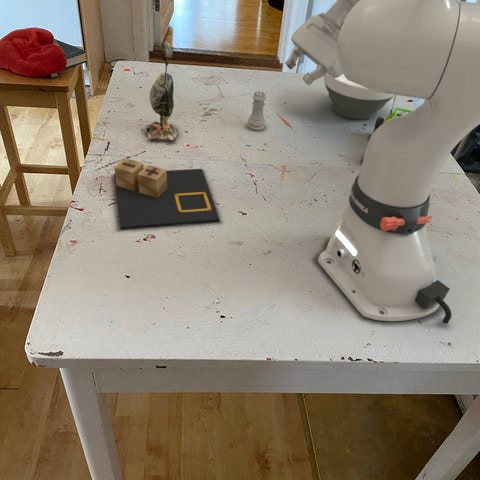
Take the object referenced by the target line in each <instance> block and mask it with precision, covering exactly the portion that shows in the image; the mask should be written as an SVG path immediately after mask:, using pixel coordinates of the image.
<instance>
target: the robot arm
mask: <svg viewBox="0 0 480 480" xmlns="http://www.w3.org/2000/svg"><path fill="white" fill-rule="evenodd" d="M290 40H291V43H293V45H294V47H293V48H292V50H291V52H290V55H289V57H288V58H287V59H286V60H285V62H284V64H285V66H286V67H287V68H288V69H289V70H293V69H294V68H295V67H296V65H297V63H296V62H297V61H298V59H299V58H301V57H302V56H303V55H304V56H306V57H307V58H308V59H309V60H310V61H312V62H313V63H314V64H315V65H316V66H315V68H316V69H314V70H312V71H311V72H306V73H305V75H303V77H302V81H303V82H304V83H305V84H306V85H307V86H311V84H313V83H314V82H315V81H316V80H319V79H320V78H324V75H325V74H326V73H328V74H329V75H330V76H332V77H333V78H337V77H339V76H341V75H342V74H344V76H345V77H346V79H347V80H349V81H351V82H354V83H356V84H358V85H361V86H363V87H366V88H369V89H371V90H374V91H377V92H382V93H388V94H395V95H396V96H401V97H409V98H414V99H419V100H421V99H422V100H424V101H423V102H422V103H421V104H420V105H419V106H418V107H416V108H415V109H413V111H412V112H410V113H408V112H406V114H405V115H402V116H398V117H395V118H394V117H392V119H390V120H388V121H386V122H385V123H383V124H382V125H381V126H379V127H378V128H377V129H376V130H375V131H374V130H373V131H374V132H373V131H372V134H371V135H370V137H369V140H368V143H367V145H366V150H365V154H364V155H363V160H362V163H361V167H360V170H359V174H358V175H356V177H355V179H354V182H353V183H352V184H351V189H350V194H349V197H348V202H349V203H348V205H347V207H346V209H345V210H344V211H343V212H342V214H341V215H340V216H339V217H338V219H337V221H336V224H335V226H334V228H333V230H332V233H331V236H330V239H329V241H328V244H327V246H326V249H324V250H323V251H321V253H319V255H318V258H317V263H318V264H319V266H320V267H321V268H322V269H323V270H324V271H325V273H326V274H327V275H328V276H329V278H330V279H331V280H332V281H333V282H334V284H335V285H336V286H337V287H338V289H340V291H341V292H342V293H343V294H344V295H345V296H346V298H347V299H348V300H349V302H350V303H351V304H352V305H353V306H354V308H355V309H356V310H357V311H358V312H359V314H360V315H362V316H363V317H365V318H367V319H371V320H373V321H374V320H375V321H380V322H403V321H410V320H416V319H420V318H425V317H427V316H429V315H431V314H433V313H435V312H436V311H437V310H438V309H439V308H440V307H441V309H442V310H443V311H444V317H443V319H442V321H441V322H442V323H443V324H444V325H447V324H449V322H450V321H451V319H452V311H451V308H450V307H449V305H448V304H447V302H446V301H445V299H446V296H447V295H448V293H449V291H450V290H451V288H450V287H448V286H447V285H446V284H445V283H443V282H442V281H440V280H439V279H437V280H435V277H436V270H437V269H436V265H435V263H436V262H437V260H438V251H437V249H435V248H431V245H430V240H429V237H428V230H427V229H426V224H430V223H432V221H431V220H432V219H433V218H434V216H433V215H428V214H429V209H430V204H431V203H430V202H431V194H430V193H431V191H432V189H433V186H434V184H435V182H436V180H437V178H438V177H439V174H440V172H441V170H442V169H443V166H444V165H445V162H446V161H447V160H448V157H449V156H450V154H451V153H452V151H453V150H454V149H455V148H456V146H457V145H458V144H459V143H460V142H461V141H462V140H463V139H464V138H465V137H466V136H467V135H468V134H469V133H471V131H473V130H475V128H477V127H478V126H479V125H480V3H479V2H472V1H471V2H470V1H463V0H336V1H335V3H333V4H332V5H331V7H330V8H329V9H328V10H327V11H326V12H321V13H319V14H316V15H312V16H311V17H309V18H307V19H306V21H304V22H303V23H302V24H301V25H300V26H299V27H298V28H297V29H296V30H295V31H294V32H293V34H292V35H291V38H290ZM395 95H394V96H395Z"/></svg>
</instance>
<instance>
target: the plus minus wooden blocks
mask: <svg viewBox="0 0 480 480" xmlns="http://www.w3.org/2000/svg"><path fill="white" fill-rule="evenodd" d="M167 171H168V170H167V169H164V168H161V167H158V166H154V165H151V164H147V165H146V166H145V165H144V162H140V161H136V160H134V159H131V158H126V157H125V158H123V159H122V160H121V161H120V162H119V163H117V164H116V165H115V166H114V174H115V177H116V185H117V186H119V187H122V188H126V189H129V190H132V191H135V190H136V189H137V188H138V187H139V193H142V194H145V195H149V196H152V197H155V198H158V197H159V196H160V195H161V194H162V193H163V192H164V191H165V190H166V189H167Z"/></svg>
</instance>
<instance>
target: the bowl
mask: <svg viewBox="0 0 480 480" xmlns="http://www.w3.org/2000/svg"><path fill="white" fill-rule="evenodd" d="M323 81H324V86H325V88H326V90H327V92H328V97H329V99H330V102H331V103H332V108H333V110H334V111H335V112H336V113H337V114H339V115H340V116H342V117H344V118H348V119H352V120H366V119H371V118H372V117H374V116H375V115H376V114H377V112H378V111H380V110H381V109H383V108H384V107H385V105H386V104H387V103H388V102H390V101H391V100H392V98H393V97H395V94H388V93H382V92H377V91H374V90H371V89H369V88H366V87H363V86H361V85H358V84H356V83H354V82H351V81H349V80H347V79H346V77H345V76H344V74H342V75H341V76H339V77H337V78H333V77H332V76H330V75H329V74H328V73H326V74H325V75H324V76H323Z"/></svg>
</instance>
